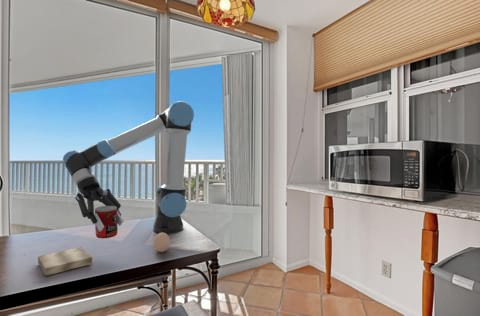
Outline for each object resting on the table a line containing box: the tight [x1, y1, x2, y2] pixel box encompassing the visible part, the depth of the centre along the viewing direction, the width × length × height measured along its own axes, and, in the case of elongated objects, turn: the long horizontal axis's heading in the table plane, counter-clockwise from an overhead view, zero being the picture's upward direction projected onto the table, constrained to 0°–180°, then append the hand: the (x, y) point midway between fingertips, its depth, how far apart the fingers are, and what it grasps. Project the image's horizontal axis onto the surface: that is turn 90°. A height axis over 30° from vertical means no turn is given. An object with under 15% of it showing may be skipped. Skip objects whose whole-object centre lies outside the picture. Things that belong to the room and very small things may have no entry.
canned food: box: [94, 205, 118, 239], centre depth 108 cm, size 8×8×11 cm
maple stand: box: [37, 246, 93, 277], centre depth 100 cm, size 14×14×3 cm
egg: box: [153, 232, 171, 253], centre depth 114 cm, size 7×7×8 cm
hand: (112, 226), depth 106 cm, fingers closed on canned food, 8 cm apart
